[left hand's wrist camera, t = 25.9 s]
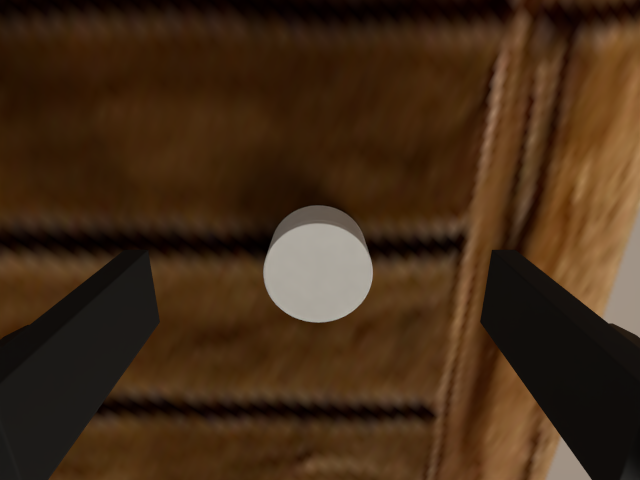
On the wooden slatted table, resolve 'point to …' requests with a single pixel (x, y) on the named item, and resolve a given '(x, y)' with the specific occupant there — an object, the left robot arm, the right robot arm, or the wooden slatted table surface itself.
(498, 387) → the wooden slatted table surface
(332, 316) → the cap
